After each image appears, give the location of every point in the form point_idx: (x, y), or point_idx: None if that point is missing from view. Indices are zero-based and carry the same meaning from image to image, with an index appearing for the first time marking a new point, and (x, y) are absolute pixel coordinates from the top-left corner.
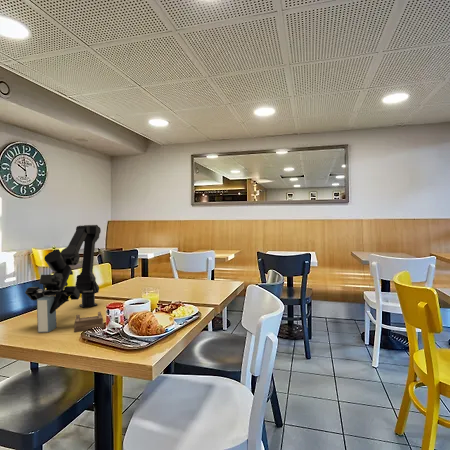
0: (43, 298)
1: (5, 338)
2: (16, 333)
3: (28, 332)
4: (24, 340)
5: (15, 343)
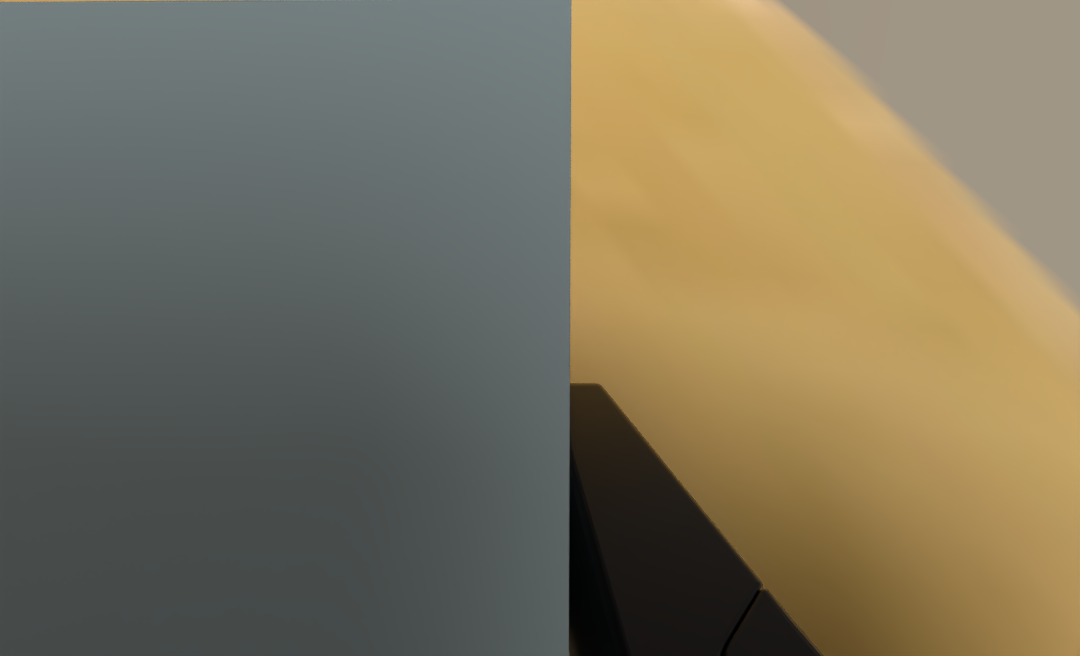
0: (175, 303)
1: (952, 193)
2: (955, 413)
3: (763, 452)
4: (575, 103)
5: (631, 7)
